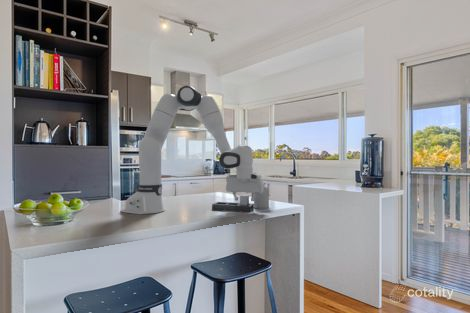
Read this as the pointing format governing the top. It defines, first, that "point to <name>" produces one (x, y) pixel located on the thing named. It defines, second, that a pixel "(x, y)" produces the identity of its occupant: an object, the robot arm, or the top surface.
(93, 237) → the top surface
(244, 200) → the steel block
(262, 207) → the mug
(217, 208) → the black compartment tray
